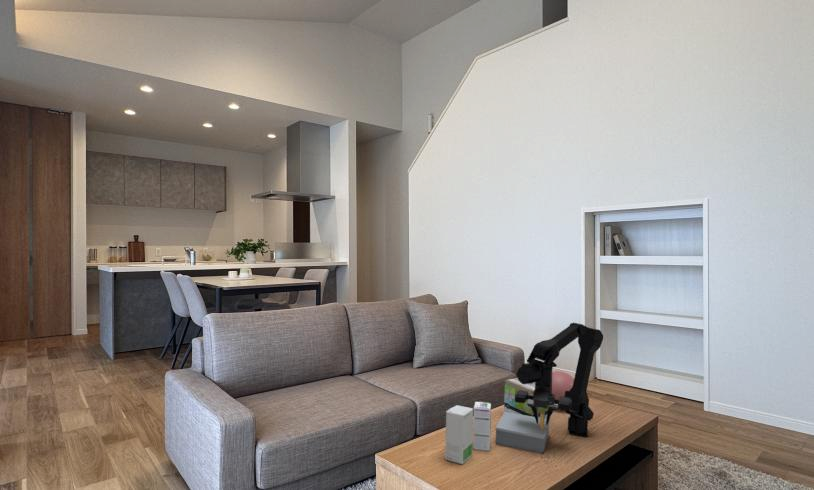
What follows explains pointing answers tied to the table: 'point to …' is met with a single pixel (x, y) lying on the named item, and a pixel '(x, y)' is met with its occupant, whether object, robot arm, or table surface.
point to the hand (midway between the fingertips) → (542, 424)
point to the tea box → (517, 407)
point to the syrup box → (482, 426)
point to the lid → (523, 425)
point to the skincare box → (459, 434)
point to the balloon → (561, 383)
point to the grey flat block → (521, 441)
